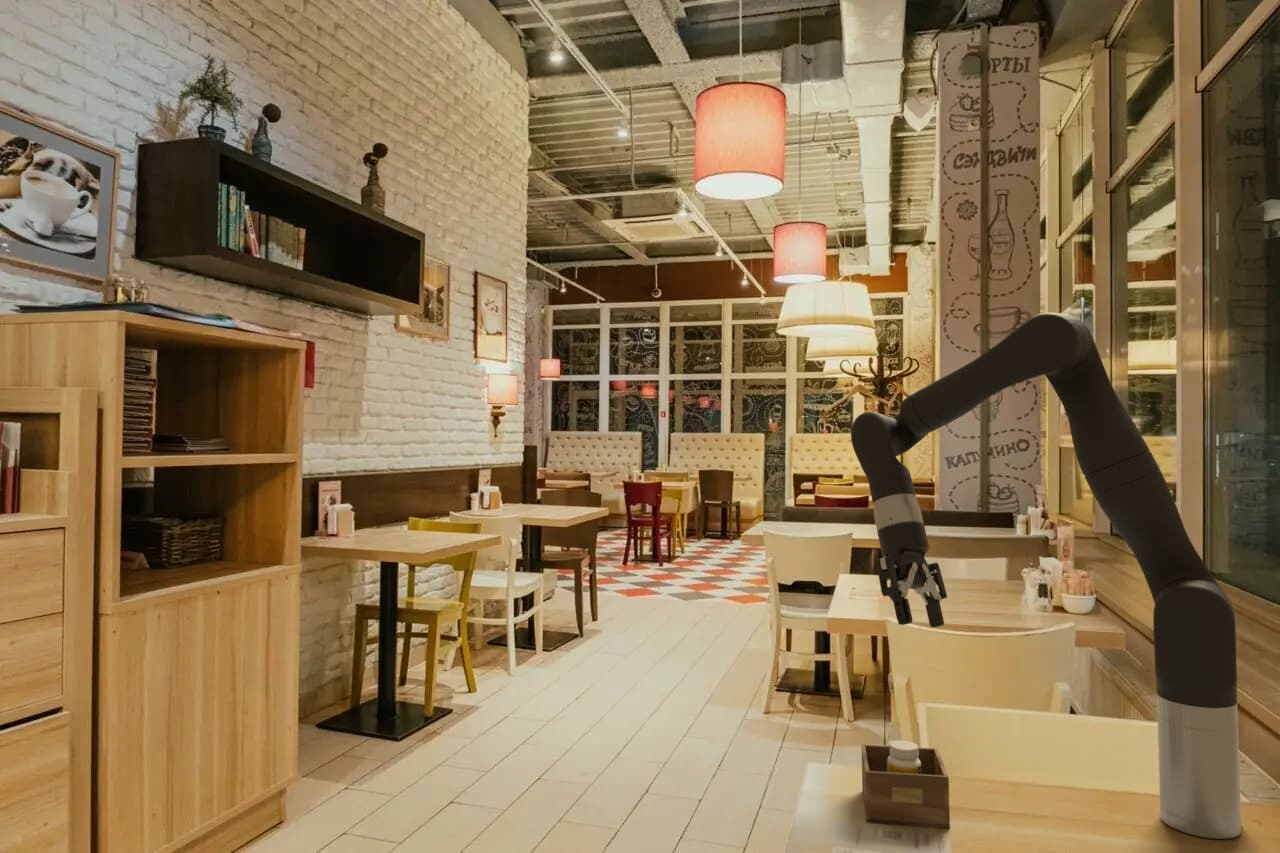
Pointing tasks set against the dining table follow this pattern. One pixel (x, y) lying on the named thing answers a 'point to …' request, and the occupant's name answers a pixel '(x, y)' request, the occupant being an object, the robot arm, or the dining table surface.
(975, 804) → the dining table surface
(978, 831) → the dining table surface
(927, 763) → the wooden box
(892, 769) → the supplement bottle
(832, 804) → the dining table surface
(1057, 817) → the dining table surface
